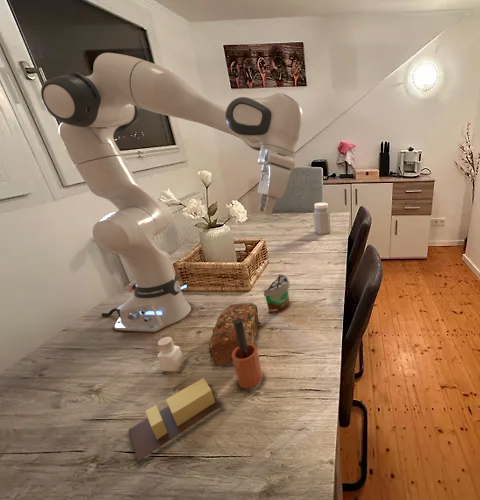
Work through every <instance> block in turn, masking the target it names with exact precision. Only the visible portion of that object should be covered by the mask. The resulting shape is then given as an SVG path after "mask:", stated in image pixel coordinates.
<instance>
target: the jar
mask: <svg viewBox="0 0 480 500" xmlns="http://www.w3.org/2000/svg"><path fill="white" fill-rule="evenodd" d="M313 206H314V207H313V208H314V211H313V221H314V222H313V223H314V233H316V234H317V235H328V234H329V233H330V232H331V215H330V210H329V203H328V202H315V203H314V205H313Z"/></svg>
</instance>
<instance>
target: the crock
mask: <svg viewBox="0 0 480 500" xmlns="http://www.w3.org/2000/svg"><path fill="white" fill-rule="evenodd" d="M247 344H248V349H247V354H248V357H247V358H244V357H243V353H242V351H240V350H239V346H238V347H237V348H235V350H234V351H233V352H232V359H233V363H232V364H233V367H234V371H235V375H236V379H237V382H238V386H240V387H241V388H242V389H252V388H254V387H257V385H259V384H260V382H261V381H262V379H263V370H262V365H261V360H260V356H259V351H258V347H257V345H256V344H255V343H254V344H251V343H247Z"/></svg>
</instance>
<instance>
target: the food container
mask: <svg viewBox="0 0 480 500" xmlns="http://www.w3.org/2000/svg"><path fill="white" fill-rule="evenodd" d="M277 275H278V277H277V278H276V279H275V280H274V281H272V283H271V284H270V285H269V287H268V288H267V289H264V290H263V296H264V297H265V300H266V304H267V309H268V313H269V314H277V313H281V312H283V311H285V310H286V309H287V308H289V305H290V299H289V297H290V296H289V288H290V287H291V283H290V280H289V279H288V276H286V275H284V274H280V273H278V274H277Z"/></svg>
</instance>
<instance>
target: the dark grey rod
mask: <svg viewBox="0 0 480 500" xmlns="http://www.w3.org/2000/svg"><path fill="white" fill-rule="evenodd" d="M233 324H234V328H235V333H236V337H237V341H238V346H239V350H240V351H242V353H243V357H244V358H247V357H248V354H247V349H248V344H247V339H246V335H245V330H244V325H243V321H242V319H241V318H238V319H235V320H234V321H233Z"/></svg>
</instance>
